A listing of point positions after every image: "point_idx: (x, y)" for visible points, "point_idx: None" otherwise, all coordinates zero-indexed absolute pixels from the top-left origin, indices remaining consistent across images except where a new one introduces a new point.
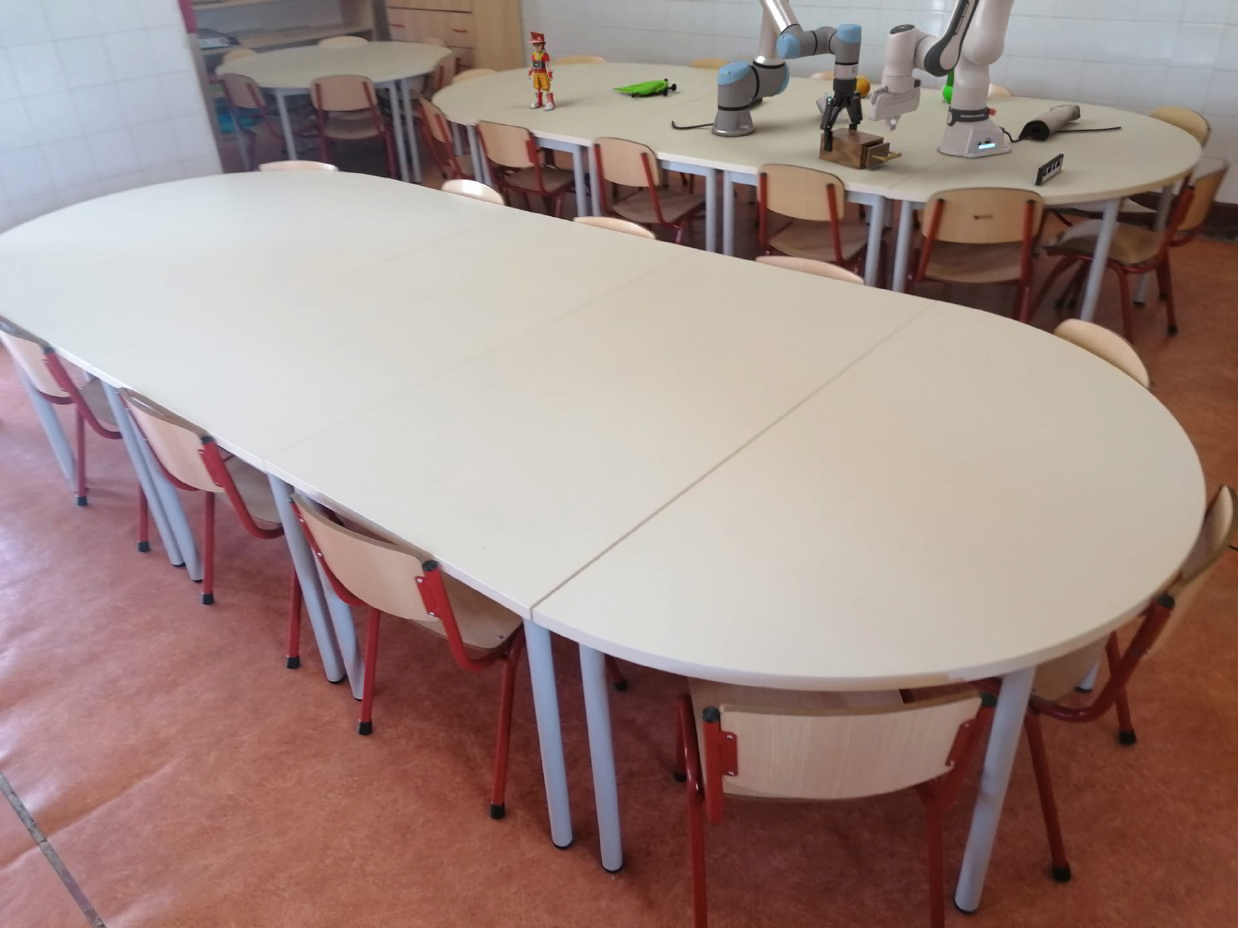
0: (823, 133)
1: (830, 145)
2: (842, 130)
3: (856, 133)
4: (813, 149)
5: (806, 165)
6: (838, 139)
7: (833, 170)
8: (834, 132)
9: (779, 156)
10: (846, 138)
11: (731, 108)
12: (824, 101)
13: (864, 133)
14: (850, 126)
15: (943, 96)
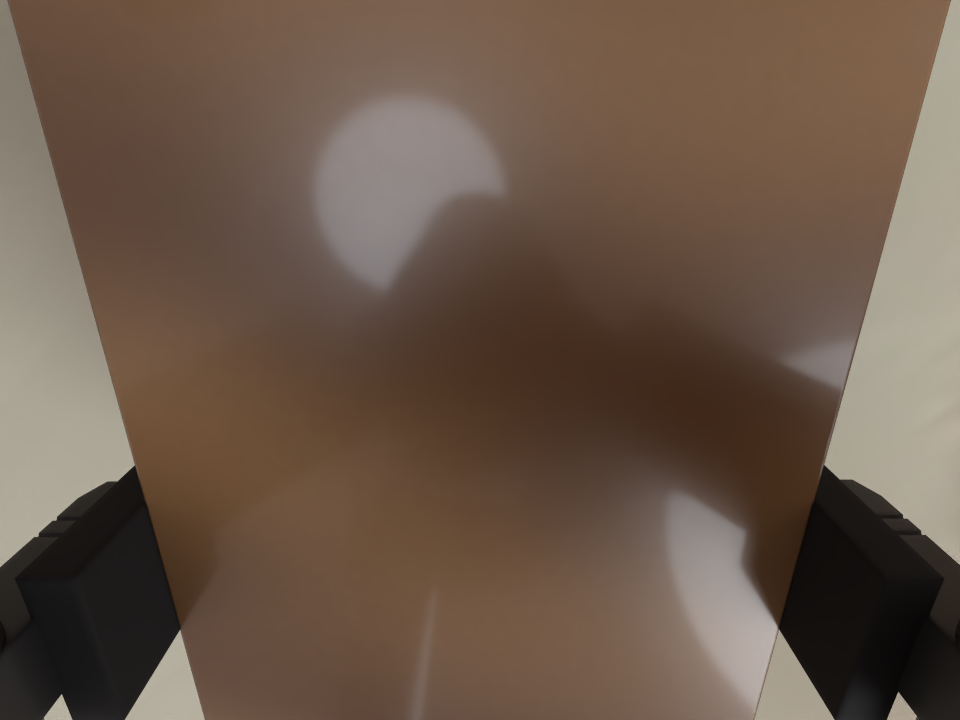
0: (737, 706)
1: None
2: (354, 629)
3: (286, 304)
4: None
5: (922, 409)
6: (834, 333)
7: (955, 44)
8: (562, 637)
9: (798, 711)
10: (813, 164)
11: None
12: None
13: (119, 153)
14: (140, 644)
15: None
